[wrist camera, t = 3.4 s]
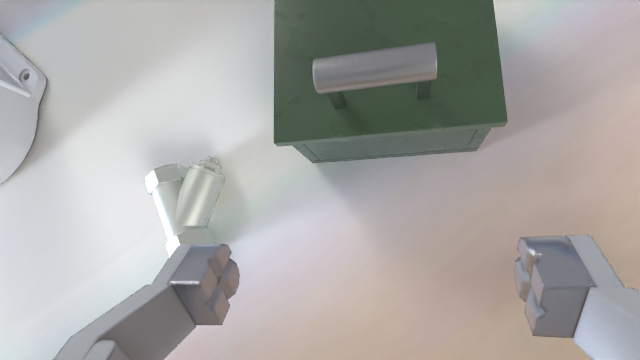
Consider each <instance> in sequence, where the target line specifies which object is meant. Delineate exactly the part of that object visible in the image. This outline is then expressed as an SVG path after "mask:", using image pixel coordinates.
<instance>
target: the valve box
mask: <svg viewBox="0 0 640 360" xmlns="http://www.w3.org/2000/svg"><path fill="white" fill-rule="evenodd" d="M491 128H492V127H491ZM491 128H480V129H469V130H457V131H446V132H435V133H424V134H412V135H401V136H390V137H379V138H368V139H356V140H345V141H334V142H323V143H311V144H300V145H292V146H293V147H295V148H296V149H297V150H298V151H299V152H300V153H302V154H303V155H304V156H305V157H306V158H307V159H309V160H310V161H311V162H312V163H323V162H336V161H349V160H362V159H375V158H388V157H401V156H415V155H428V154H441V153H454V152H467V151H477V149H478V148H479V146H480V145H481V143H482V142H483V140H484V139H485V137H486V136H487V134H488V133H489V131H490V130H491Z"/></svg>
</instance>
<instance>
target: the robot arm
mask: <svg viewBox="0 0 640 360" xmlns="http://www.w3.org/2000/svg"><path fill="white" fill-rule="evenodd" d="M45 87H46V77H45V76H44V75H43V74H42V73H41V72H40V71H39V70H38V69H37V68H36V67H35V66H34V65H33V64H32V63H31V62H30V61H28V60H27V59H26V58H25V57H24V56H23V55H22V54H21V53H20V52H19V51H18V50H17V49H16V48H15V47H14V46H12V45H11V44H10V43H9V42H8V41H7V40H6V39H5V38H4V37H3V36H2V35H1V34H0V184H1V183H2V182H4V181H5V180H6V179H7V178H9V177H10V176H11V175H12V174H13V173H14V172H15V171H16V170H17V168H18V167H19V166H20V165H21V163H22V162H23V160H24V159H25V157H26V155H27V153H28V152H29V149H30V147H31V145H32V142H33V140H34V136H35V133H36V128H37V121H38V108H39V103H40V100H41V98H42V95H43V93H44V90H45ZM517 249H518V252H519V254H520V257H519V258H518V259H517V260H515V268H514V274H515V283H516V288H517V291H518V294H519V297H520V298H521V299H523V300H524V301H525V302H526V307H525V315H526V317H527V320H528V323H529V326H530V329H531V332H532V334H533V336H544V337H561V338H573V341H574V342H575V343H576V344H577V345H578V346H579V347H580V348H581V349H582V350H583V351H585V352H586V353H587V354H588V355H589V356H590V357H591V358H592V359H593V360H640V292H639V291H637V290H636V289H634V288H625V286H624V285H623V283H622V281H621V280H620V278H619V277H618V275H617V274H616V272H615V271H614V269H613V268H612V266H611V265H610V263H609V262H608V260H607V259H606V257H605V255H604V254H603V252H602V251H601V249H600V248H599V246H598V245H597V243H596V242H595V240H594V239H593V237H591V236H590V235H566V236H538V237H520V239H519V241H518V247H517ZM231 253H232V252H231V250H230V248H229V246H228V245H226V244H180V245H179V246H177V247H176V248H175V250H174V251H173V253H172V254H171V256H170V257H169V259H168V260H167V262H166V263H165V265H164V266H163V268H162V269H161V271H160V272H159V274H158V275H157V277H156V278H155V280H154V281H153V283H152V284H151V285H146V286H144V287H143V288H141V289H140V290H138V291H137V292H135V293H134V294H132V295H131V296H130V297H128V298H127V299H125V300H124V301H122V302H121V303H119V304H118V305H116V306H115V307H113V308H112V309H111V310H109V311H108V312H106V313H105V314H103V315H102V316H100V317H99V318H97V319H96V320H95V321H93V322H92V323H90V324H89V325H87V326H86V327H84V328H83V329H81V330H80V331H78V332H77V333H76V334H74V335H73V336H71V337H70V338H69V339H68V341H67V342H66V343H65V345H64V346H63V347H62V348H61V350H60V351H59V352H58V354H57V355H56V356H55V357H54V359H53V360H163V359H164V358H165V357H166V356H167V355H168V354H169V353H170V352H171V351H172V350H173V349H174V348H175V347H176V346H177V345H178V344H179V343H180V342H181V341H182V340H183V339H184V338H185V337H186V336H187V335H188V334H189V333H190V332H191V331H192V330H193V329H194V328H195V327H196V325H222V324H223V321H224V319H225V317H226V314H227V312H228V310H229V307H230V304H229V301H228V299H229V298H231V297H232V296H233V295H234V294H235V293H236V291H237V288H238V285H239V277H240V275H239V269H238V266H237V264H236V263H235V262H234V261H233V260H231V259H230V258H229V257H230V255H231Z"/></svg>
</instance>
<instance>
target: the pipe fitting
mask: <svg viewBox="0 0 640 360" xmlns="http://www.w3.org/2000/svg"><path fill="white" fill-rule="evenodd" d="M218 161H219V160H217V159H215V158H213V157H210V156H209V157H208V159H207V161H206V160H201V161H200V163H199V166H198V165H195V164H191V165H190V167H189V170H188V169H187V168H185V167H184V166H182V165H179V164H171V165H165V166H162V167H159V168H157V169H155V170H153V171H151V172H150V173H149V174H148V175H147V177H146V179H145V184H146V187H147V190H148V193H149V194H150V195H152V196H154V199H155V202H156V205H157V208H158V211H159V214H160V217H161V220H162V223H163V226H164V229H165V232H166V235H167V238H168V243H167V244H166V247H167V250H168V253H169V256H171V254H172V253H173V251H174V250H175V248H176V247H177V246H179V245H180V244H215V241H214V238H213V236H212V233H211V230H210V229H208V228H206V225H207V223H208V220H209V218H210V215H211V213H212V210H213V208H214V206H215V203H216V201H217V198H218V195H219V193H220V190H221V188H222V185H223V183H224V181H225V178H226V177H225V176H223V175H221V174H219V173H220V171H221V167H220V166H219V165H217V164H218Z"/></svg>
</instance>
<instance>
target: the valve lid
mask: <svg viewBox="0 0 640 360" xmlns="http://www.w3.org/2000/svg"><path fill="white" fill-rule="evenodd" d="M506 123H507V113H506V105H505V96H504V88H503V80H502V71H501V63H500V55H499V46H498V38H497V30H496V22H495V13H494V5H493V0H275V22H274V144H276V145H277V146H289V145H300V144H311V143H323V142H334V141H345V140H356V139H368V138H379V137H390V136H401V135H412V134H424V133H435V132H446V131H457V130H469V129H480V128H491V127H502V126H505V124H506Z"/></svg>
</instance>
